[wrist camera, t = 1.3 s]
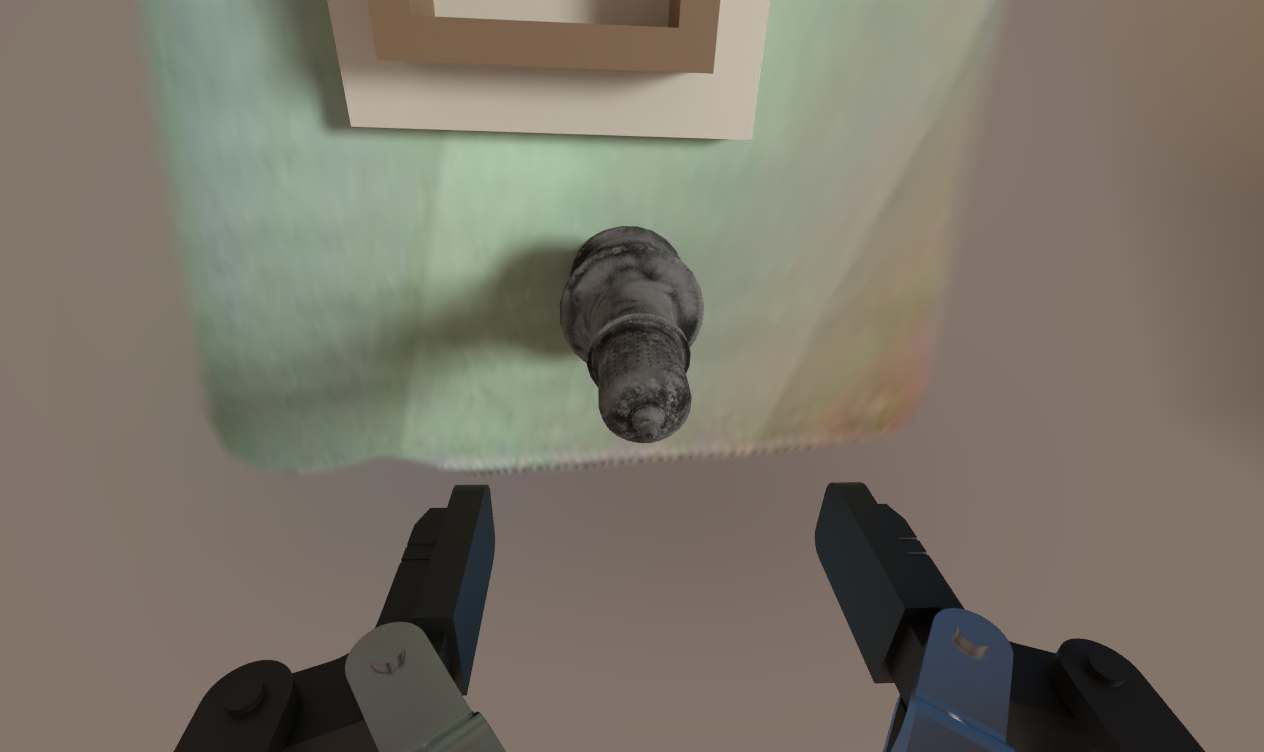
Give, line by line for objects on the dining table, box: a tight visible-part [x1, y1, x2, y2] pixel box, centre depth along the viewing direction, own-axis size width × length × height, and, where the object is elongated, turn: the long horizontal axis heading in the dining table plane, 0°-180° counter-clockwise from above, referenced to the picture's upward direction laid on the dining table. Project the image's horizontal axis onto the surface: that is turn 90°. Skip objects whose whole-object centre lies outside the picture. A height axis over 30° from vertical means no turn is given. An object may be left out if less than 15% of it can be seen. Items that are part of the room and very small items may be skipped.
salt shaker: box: [560, 226, 704, 443], centre depth 21 cm, size 6×6×12 cm
